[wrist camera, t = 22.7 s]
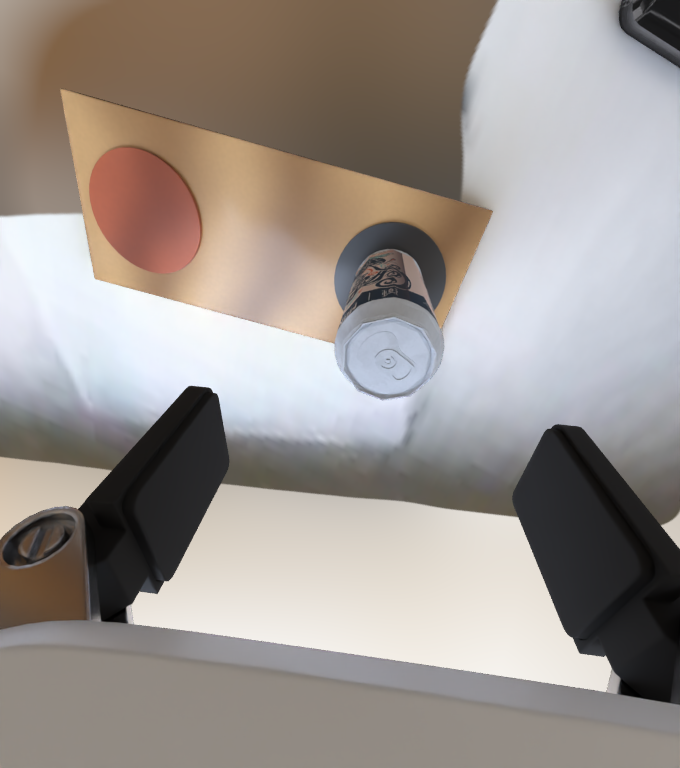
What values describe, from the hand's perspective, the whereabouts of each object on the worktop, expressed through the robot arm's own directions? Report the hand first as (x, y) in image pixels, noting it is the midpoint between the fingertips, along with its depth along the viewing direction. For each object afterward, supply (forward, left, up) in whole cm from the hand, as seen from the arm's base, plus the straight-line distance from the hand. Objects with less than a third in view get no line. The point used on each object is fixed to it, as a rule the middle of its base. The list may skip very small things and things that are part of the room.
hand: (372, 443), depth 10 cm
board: (-8, 0, -19) cm, 21 cm away
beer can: (0, 0, -17) cm, 17 cm away
